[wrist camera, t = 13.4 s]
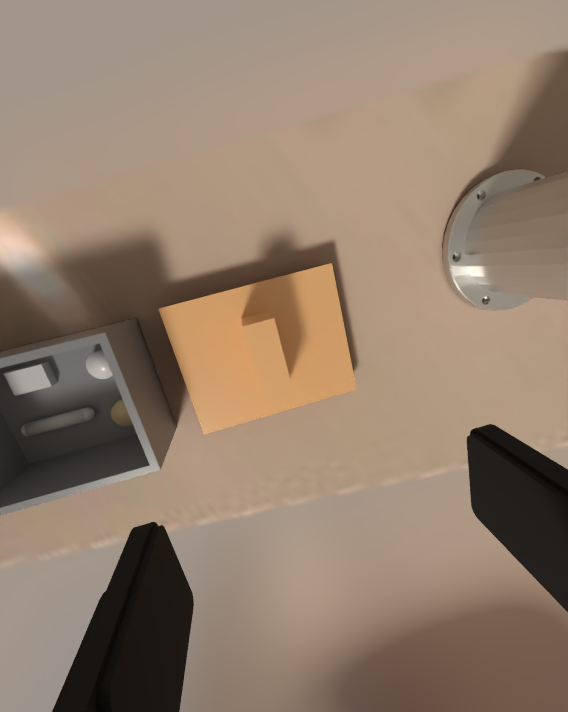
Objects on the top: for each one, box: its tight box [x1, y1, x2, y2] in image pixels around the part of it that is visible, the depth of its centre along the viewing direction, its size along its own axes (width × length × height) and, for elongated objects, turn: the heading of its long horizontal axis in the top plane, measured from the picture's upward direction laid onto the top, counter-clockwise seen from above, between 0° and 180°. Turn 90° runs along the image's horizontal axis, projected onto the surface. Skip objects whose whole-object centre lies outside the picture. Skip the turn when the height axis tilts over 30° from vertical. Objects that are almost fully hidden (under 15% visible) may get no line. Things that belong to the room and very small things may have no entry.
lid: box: [158, 263, 356, 434], centre depth 27 cm, size 15×12×6 cm
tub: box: [0, 318, 177, 515], centre depth 26 cm, size 14×11×7 cm
